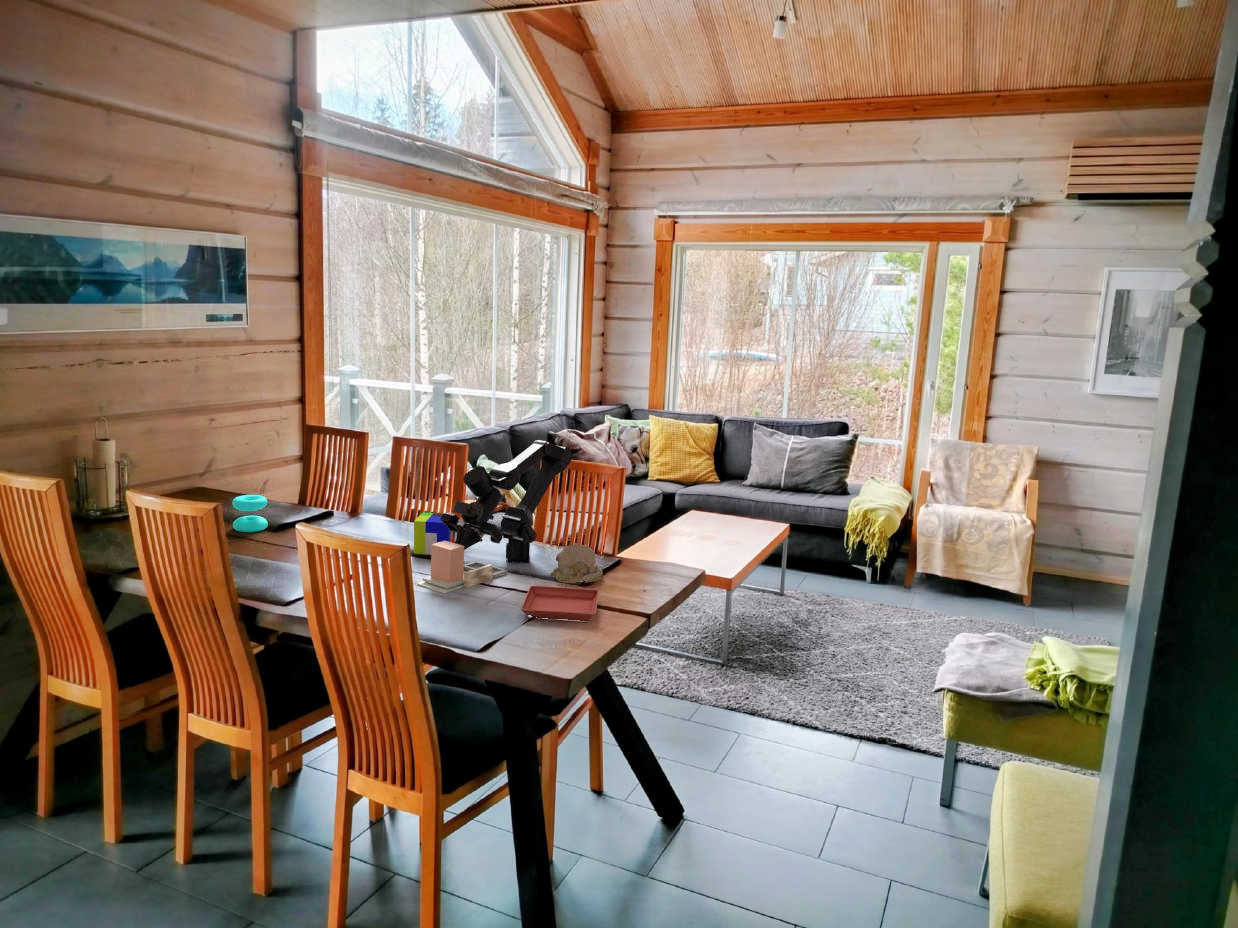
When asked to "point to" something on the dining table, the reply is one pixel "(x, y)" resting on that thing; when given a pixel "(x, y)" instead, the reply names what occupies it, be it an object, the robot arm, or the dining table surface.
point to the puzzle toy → (430, 532)
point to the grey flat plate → (476, 564)
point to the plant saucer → (560, 603)
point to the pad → (438, 587)
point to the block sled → (446, 565)
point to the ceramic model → (577, 565)
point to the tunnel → (478, 575)
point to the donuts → (250, 521)
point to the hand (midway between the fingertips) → (455, 553)
